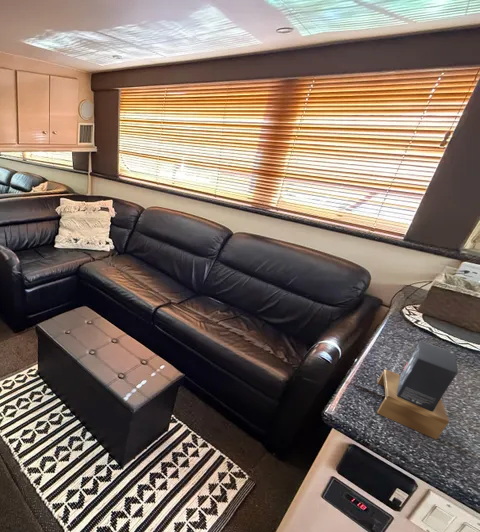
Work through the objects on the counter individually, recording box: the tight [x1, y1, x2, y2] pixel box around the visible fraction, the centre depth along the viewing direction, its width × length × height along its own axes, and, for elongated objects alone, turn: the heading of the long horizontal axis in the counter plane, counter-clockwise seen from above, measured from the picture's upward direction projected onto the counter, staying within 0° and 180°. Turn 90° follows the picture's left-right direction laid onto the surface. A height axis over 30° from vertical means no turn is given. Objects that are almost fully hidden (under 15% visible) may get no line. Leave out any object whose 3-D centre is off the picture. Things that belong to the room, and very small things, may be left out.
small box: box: [397, 340, 459, 412], centre depth 81 cm, size 13×7×12 cm, turn 133°
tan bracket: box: [377, 368, 450, 440], centre depth 84 cm, size 11×15×6 cm
